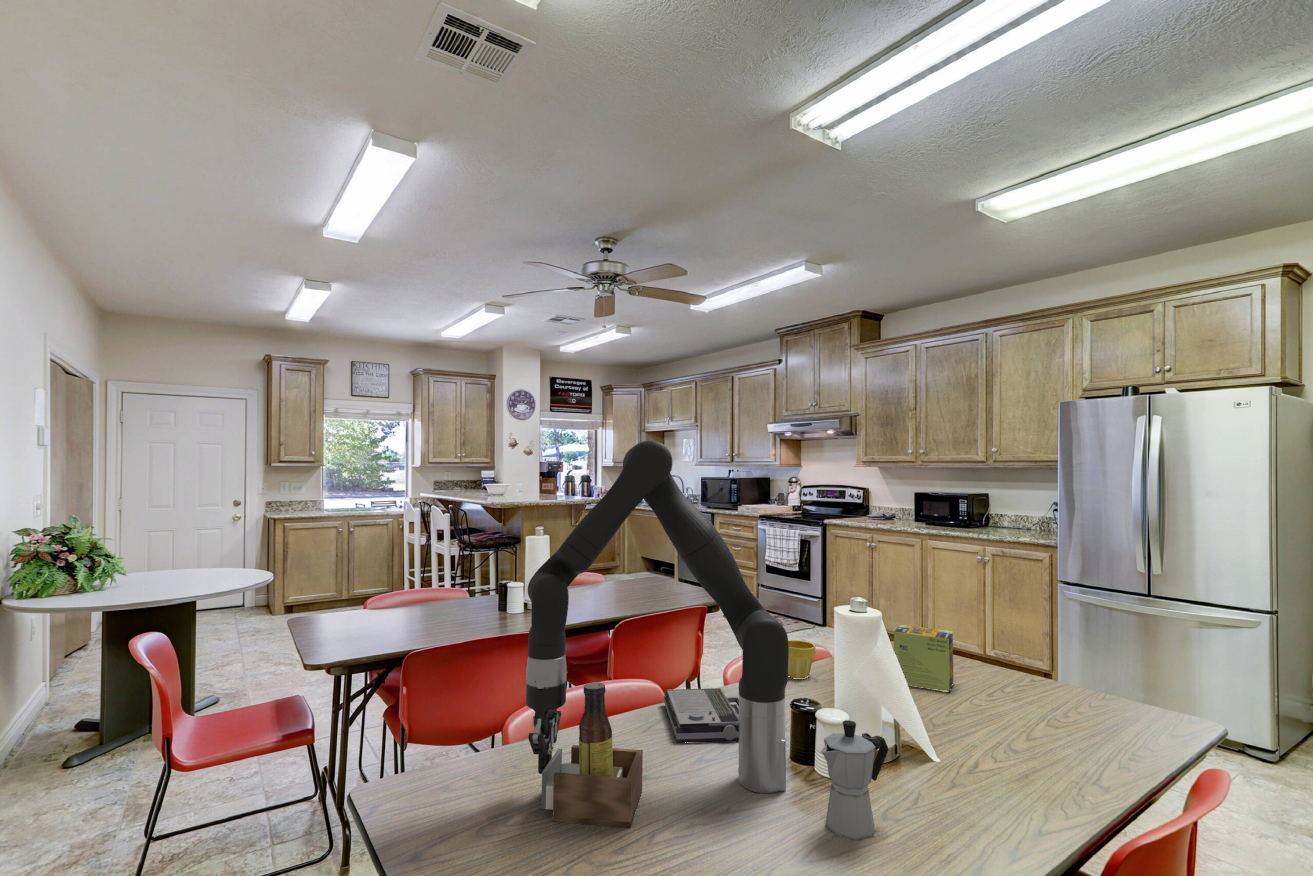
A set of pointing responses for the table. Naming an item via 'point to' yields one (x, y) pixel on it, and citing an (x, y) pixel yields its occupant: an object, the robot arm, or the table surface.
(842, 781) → the coffee maker
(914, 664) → the protein box
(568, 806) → the caddy
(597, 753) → the sauce bottle
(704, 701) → the radio
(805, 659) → the plant pot
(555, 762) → the tray
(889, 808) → the table surface
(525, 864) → the table surface
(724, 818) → the table surface
